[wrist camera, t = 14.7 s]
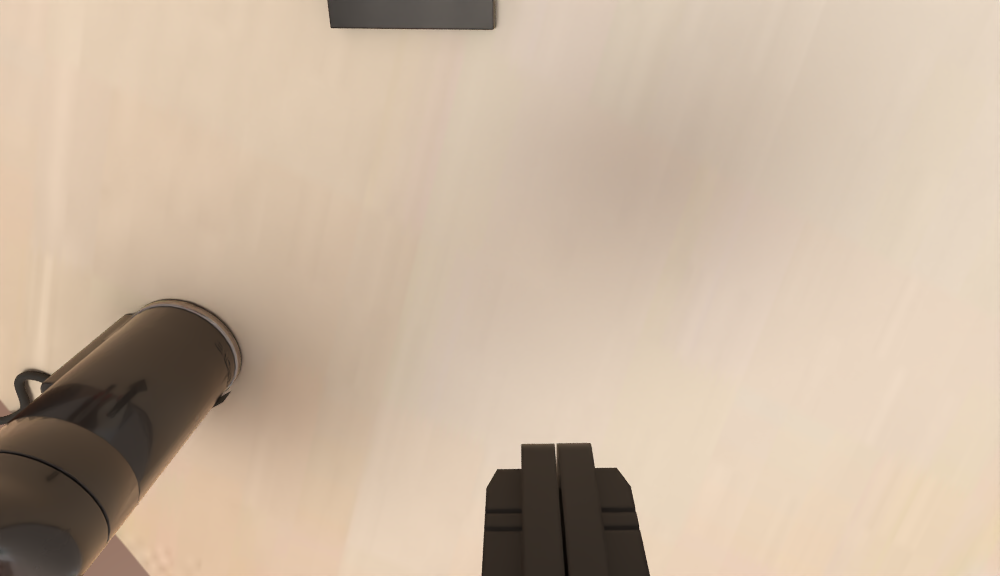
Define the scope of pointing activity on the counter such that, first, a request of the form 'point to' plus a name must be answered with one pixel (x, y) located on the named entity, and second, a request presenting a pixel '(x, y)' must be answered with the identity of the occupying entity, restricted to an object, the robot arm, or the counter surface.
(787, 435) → the counter surface
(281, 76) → the counter surface
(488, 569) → the robot arm
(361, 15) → the bracket
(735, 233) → the counter surface
